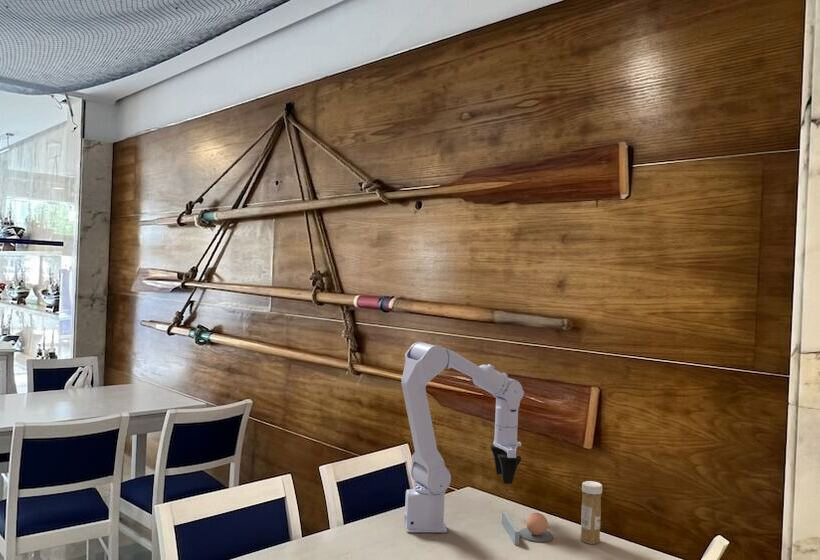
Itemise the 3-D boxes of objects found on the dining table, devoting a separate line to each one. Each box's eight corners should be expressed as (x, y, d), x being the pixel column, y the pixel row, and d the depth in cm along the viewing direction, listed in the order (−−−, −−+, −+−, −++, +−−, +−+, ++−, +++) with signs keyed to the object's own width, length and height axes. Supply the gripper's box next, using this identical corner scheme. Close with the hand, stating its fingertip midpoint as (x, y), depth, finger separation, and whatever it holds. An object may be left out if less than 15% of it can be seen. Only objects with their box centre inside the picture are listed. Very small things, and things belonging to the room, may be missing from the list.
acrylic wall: (514, 544, 150) (515, 531, 150) (501, 523, 163) (502, 511, 163) (519, 544, 150) (519, 531, 150) (505, 523, 163) (506, 511, 163)
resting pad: (523, 542, 152) (523, 541, 152) (515, 528, 160) (515, 527, 160) (557, 542, 153) (557, 541, 153) (547, 529, 161) (547, 527, 161)
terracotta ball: (528, 538, 153) (530, 517, 153) (523, 529, 158) (524, 508, 158) (549, 539, 154) (551, 518, 154) (543, 529, 159) (545, 509, 159)
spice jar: (603, 544, 152) (605, 486, 152) (584, 545, 152) (586, 486, 152) (595, 536, 157) (597, 480, 157) (576, 537, 156) (579, 480, 156)
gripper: (529, 432, 162) (527, 487, 162) (514, 419, 176) (512, 470, 176) (500, 431, 161) (498, 487, 161) (488, 418, 175) (486, 469, 176)
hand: (504, 478), depth 169 cm, fingers open, 7 cm apart
